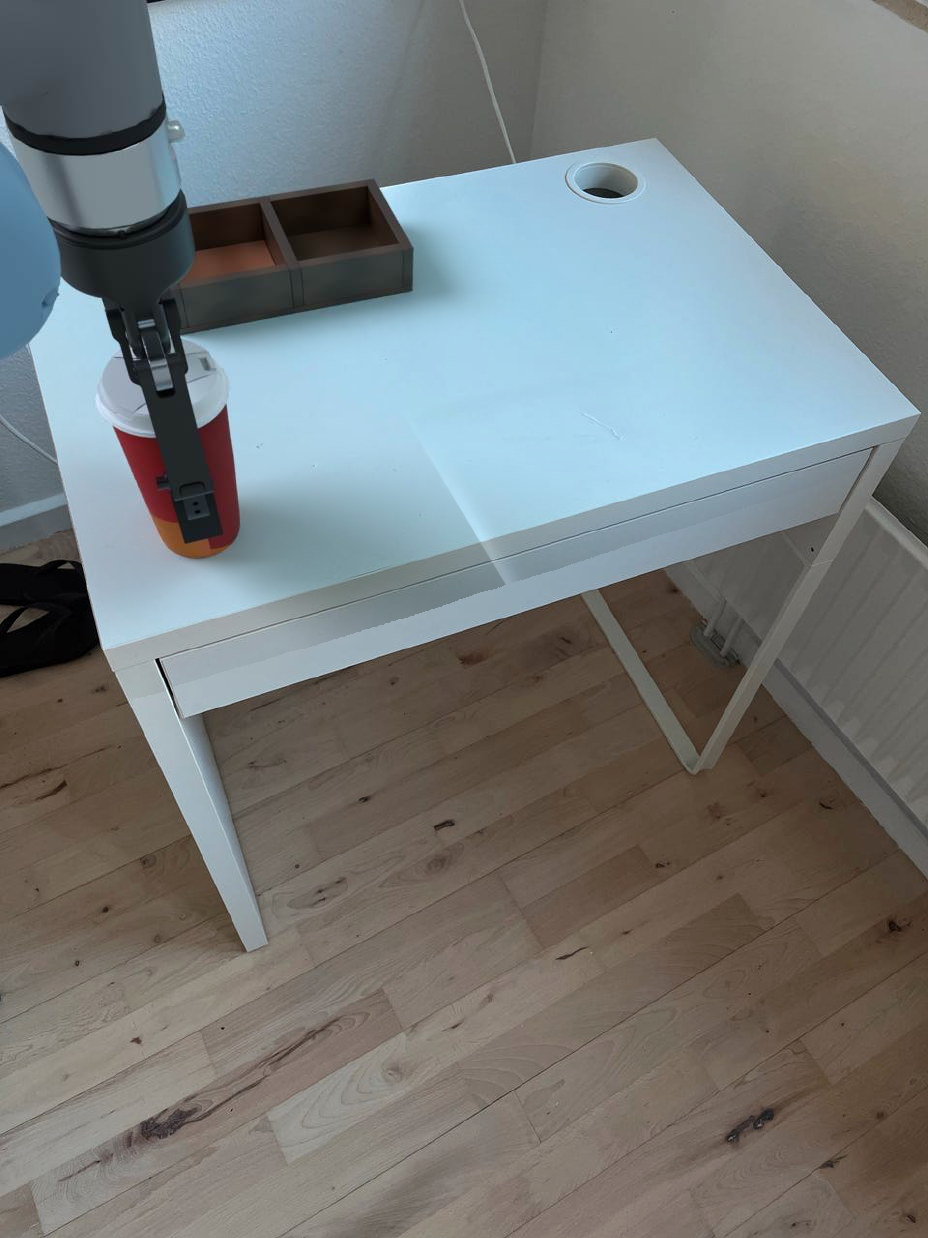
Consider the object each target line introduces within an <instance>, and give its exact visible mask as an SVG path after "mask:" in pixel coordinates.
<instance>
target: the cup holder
mask: <svg viewBox="0 0 928 1238" xmlns="http://www.w3.org/2000/svg"><path fill="white" fill-rule="evenodd" d="M187 208H188V213H189V218H190V223H191V228H192V233H193V238H194V243H195V258H194V262H193V264H192V266H191V268H190V270H189V271H188V273H187V274H186V275H185V276H184V277H183V278H182V279H181V280H180V281H179V282H178V283H176V284H175V285H173V286H171V287H170V289H171V295H172V297H175V300H176V304H177V307H178V311H179V315H180V319H181V325H182V326H181V328H180V336H181V335H186V334H192V333H197V332H201V331H207V330H212V329H218V328H224V327H229V326H234V325H238V324H244V323H249V322H254V321H260V320H265V319H270V318H275V317H280V316H287V315H291V314H296V313H303V312H308V311H312V310H317V309H322V308H323V309H324V308H328V307H333V306H339V305H343V304H349V303H354V302H359V301H364V300H369V299H375V298H381V297H386V296H391V295H396V294H402V293H407V292H412V291H414V246H413V244H412V242H411V241H410V239H409V237H408V236H407V234H406V232H405V231H404V229H403V227H402V225H401V223H400V222H399V220H398V218H397V216H396V215H395V213H394V211H393V209H392V207H391V206H390V204H389V202H388V200H387V199H386V197H385V195H384V194H383V192H382V190H381V189H380V186H379V185H378V183H377V182H376V180H375V178H369V179H362V180H356V181H350V182H344V183H337V184H330V185H324V186H318V187H317V186H316V187H311V188H306V189H305V188H304V189H299V190H292V191H285V192H280V193H274V194H268V195H262V196H254V197H248V198H241V199H236V200H229V201H222V202H217V203H210V204H204V205H198V206H191V207H187Z"/></svg>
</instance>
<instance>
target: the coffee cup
mask: <svg viewBox="0 0 928 1238" xmlns="http://www.w3.org/2000/svg"><path fill="white" fill-rule="evenodd" d="M181 340H182V344H183V348H184V352H185V356H186V360H187V364H188V372H187V373H186V374H185V378H186V382H187V387H188V391H189V395H190V399H191V403H192V407H193V411H194V415H195V419H196V423H197V427H198V431H199V435H200V439H201V443H202V447H203V451H204V455H205V459H206V463H207V465H208V469H209V472H210V473H209V475H210V477H211V478H213V482H214V486H213V487H214V490H213V491H214V497H215V501H216V505H217V509H218V513H219V517H220V522H221V526H222V530H223V534H224V535H220V536H216V537H212V538H208V539H204V540H199V541H195V542H191V543H187V544H185V543H184V540H183V536H182V533H181V530H180V526H179V523H178V520H177V516H176V513H175V509H174V506H173V503H172V499H171V496H170V493H169V489H163V490H159V491H158V488H157V484H156V480H155V478H156V477H160V476H164V471H166V470H165V467H164V464H163V460H162V457H161V453H160V450H159V446H158V443H157V439H156V436H155V433H154V429H153V426H152V422H151V419H150V415H149V412H148V408H147V405H146V402H145V398H144V395H143V391H142V388H141V387H140V386H139V385H137V384H134V383H133V382H131V380H130V378H129V375H128V372H127V368H126V365H125V361H124V358H123V355H122V351H121V349H120V350H118V351H117V352H115V353H114V354H113V355H111V357H110V359H109V361H108V362H107V364H106V365H105V367H104V368H103V371H102V374H101V377H100V378H99V381H98V384H97V388H96V389H97V391H96V392H97V393H96V396H95V399H94V405H95V408H96V410H97V411H96V412H97V413H98V416H100V418H101V419H102V420H103V421H104V422H105V423H107V424H109V425H110V426H112V428H113V432H114V433H115V435H116V438H117V440H118V442H119V445H120V447H121V449H122V452H123V454H124V457H125V459H126V461H127V464H128V466H129V469H130V470H131V473H132V475H133V478H134V481H135V482H136V484H137V486H138V490H139V492H140V494H141V496H142V499H143V501H144V503H145V505H146V508H147V511H148V512H149V515H150V517H151V519H152V521H153V524H154V526H155V529H156V530H157V532H158V534H159V537H160V538H161V540H162V542H163V543H164V545H165V546H166V547H167V548H168V549H169V550H170V551H171V552H173V553H175V554H176V555H179V556H182V557H185V558H191V559H202V558H207V557H212V556H215V555H217V554H220V553H222V552H224V550H226V549H228V548H229V547H230V546H231V545H232V544H233V543H234V542H235V541H236V539H237V537H238V535H239V533H240V529H241V515H240V503H239V494H238V493H239V492H238V486H237V485H238V484H237V476H236V475H237V474H236V465H235V456H234V450H233V449H234V448H233V443H232V436H231V428H230V421H229V420H230V419H229V412H228V411H229V410H228V404H227V402H228V399H229V397H230V389H231V388H230V387H231V386H230V381H229V378H228V374H227V373H226V371H225V370H224V368H223V367H222V366H221V365H220V364H219V363H218V362H217V361H216V360H214V358H213V357H212V356H211V354H210V351H208V350H207V349H206V348H204V347H203V346H201V345H200V344H198V343H196V342H193V341H191V340H188V339H186V338H185V339H184V338H181ZM170 341H171V353H175V351H174V347H173V344H172V340H171V336H170ZM129 346H130V345H129ZM130 350H131V353H132V357H133V360H140V359H137V358H136V356H135V355H134V353H133V350H132V347H130ZM169 354H170V353H169Z"/></svg>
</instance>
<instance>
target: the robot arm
mask: <svg viewBox="0 0 928 1238" xmlns="http://www.w3.org/2000/svg"><path fill="white" fill-rule="evenodd" d="M150 17H151V16H150V12H149V6H148V1H147V0H0V107H1V110H2V114H3V116H4V122H5V128H6V131H7V134H8V136H9V139H10V143H11V145H12V148H13V151H14V153H15V156H16V157H15V156H14V155H13V153H12V152H11V151H10V150H9V149H8V147H6V146H5V144H3V143H2V142H1V141H0V363H1V362H3V361H5V360H7V359H9V358H10V357H11V356H13V355H15V354H16V353H19V352H20V351H21V350H22V349H23V348H24V347H26V346H27V345H28V344H29V343H30V342H31V341H32V340H33V339H34V338H35V337H36V336H37V335H38V334H39V333H40V331H41V330H42V328H43V327H44V325H46V324H45V323H47V321H48V319H49V317H50V315H51V314H52V311H53V309H54V306H55V302H56V300H57V298H58V297H59V296H60V292H59V287H60V286H61V278H62V280H63V281H64V282H65V283H66V284H68V286H70V287H71V288H73V289H75V290H76V291H77V292H80V293H82V294H85V295H87V296H90V297H93V298H97V299H101V302H102V304H103V307H104V313H105V316H106V320H107V324H108V326H109V329H110V330H109V331H110V333H111V334H110V335H111V337H112V338H113V339H114V340H115V341H116V342H117V343H118V344H119V347H120V350H121V351H122V355H123V358H124V361H125V365H126V368H127V372H128V375H129V378H130V380H131V382H133V383H134V384H137V385H139V386H140V387H141V388H142V391H143V395H144V398H145V402H146V405H147V408H148V412H149V415H150V419H151V422H152V426H153V429H154V433H155V436H156V439H157V443H158V446H159V450H160V453H161V457H162V460H163V464H164V467H165V470H166V471H164V476H160V477H156V478H155V480H156V484H157V488H158V491H159V490H163V489H169V493H170V496H171V499H172V503H173V506H174V509H175V513H176V516H177V520H178V523H179V526H180V530H181V533H182V536H183V540H184V543H185V544H187V543H191V542H195V541H199V540H204V539H208V538H212V537H216V536H220V535H224V534H223V530H222V526H221V522H220V517H219V513H218V509H217V505H216V501H215V497H214V491H213V490H214V487H213V486H214V482H213V478H211V477H210V475H209V473H210V472H209V469H208V465H207V463H206V459H205V455H204V451H203V447H202V443H201V439H200V435H199V431H198V427H197V423H196V419H195V415H194V411H193V407H192V403H191V399H190V395H189V391H188V387H187V382H186V378H185V374H186V373H187V372H188V364H187V360H186V356H185V352H184V348H183V344H182V340H181V339H182V337H181V335H180V328H181V326H182V325H181V319H180V315H179V311H178V307H177V304H176V300H175V297H172V295H171V289H170V287H171V286H173V285H175V284H176V283H178V282H179V281H180V280H181V279H182V278H183V277H184V276H185V275H186V274H187V273H188V271H189V270H190V268H191V266H192V264H193V262H194V258H195V243H194V238H193V233H192V228H191V223H190V218H189V213H188V208H189V207H188V203H187V199H186V195H185V193H184V191H183V190H182V188H181V183H182V178H181V174H180V169H179V164H178V158H177V153H176V150H175V148H174V146H173V144H174V143H180V142H182V141H184V139H185V136H186V135H185V129H184V126H183V125H182V124H181V122H180V121H179V120H169V114H168V111H167V108H168V107H167V103H166V97H165V95H164V94H165V93H164V91H163V86H162V79H161V75H160V69H159V63H158V58H157V52H156V47H155V46H156V45H155V41H154V35H153V29H152V23H151V18H150ZM170 337H171V340H172V344H173V347H174V351H175V353H171V341H170ZM129 345H130V346H129ZM130 347H132V350H133V353H134V355H135V356H136V358H137V359H140V360H133V357H132V353H131V350H130ZM169 353H170V354H169Z"/></svg>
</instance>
